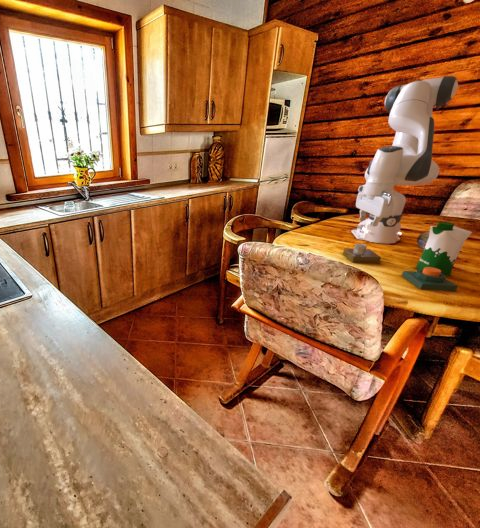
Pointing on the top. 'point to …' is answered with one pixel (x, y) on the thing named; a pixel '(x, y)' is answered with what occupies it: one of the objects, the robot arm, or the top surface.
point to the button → (431, 271)
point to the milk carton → (443, 247)
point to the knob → (359, 249)
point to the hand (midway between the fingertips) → (367, 223)
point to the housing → (429, 281)
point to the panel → (362, 256)
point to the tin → (423, 239)
